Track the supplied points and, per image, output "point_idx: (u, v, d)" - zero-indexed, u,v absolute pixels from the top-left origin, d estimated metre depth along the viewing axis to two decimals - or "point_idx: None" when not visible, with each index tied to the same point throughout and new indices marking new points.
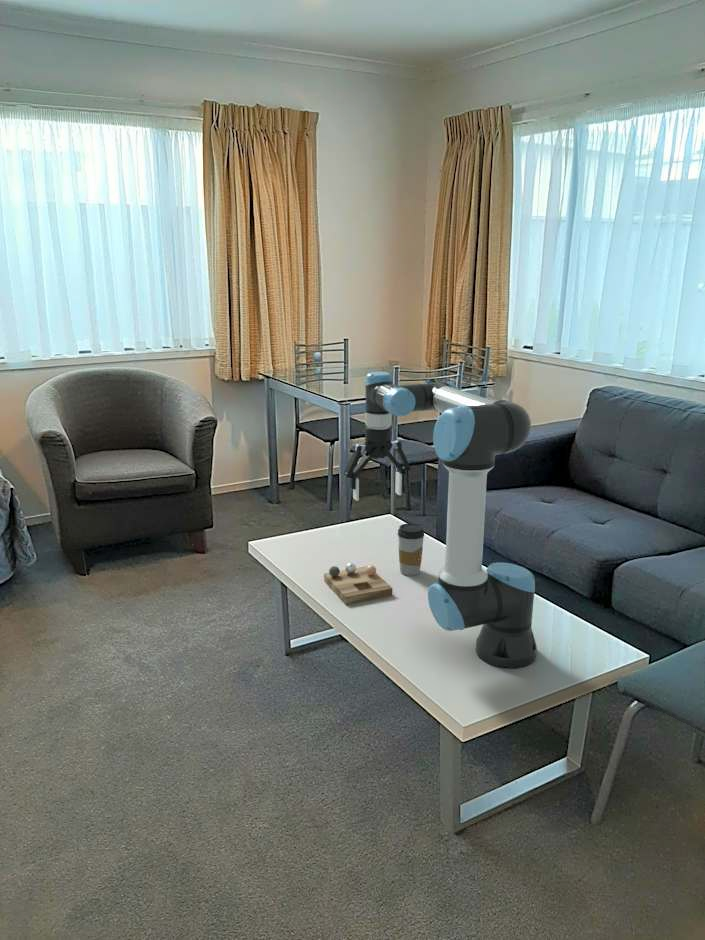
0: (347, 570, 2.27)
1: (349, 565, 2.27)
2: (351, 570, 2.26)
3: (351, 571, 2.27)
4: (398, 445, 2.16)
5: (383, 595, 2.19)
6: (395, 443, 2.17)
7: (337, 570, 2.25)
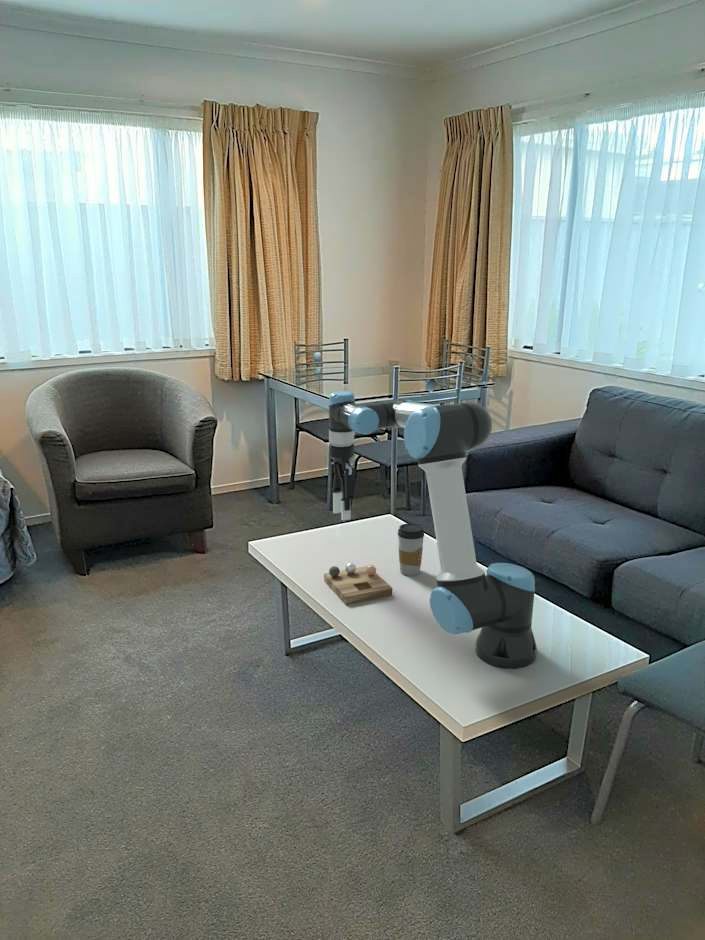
0: (347, 570, 2.27)
1: (349, 565, 2.27)
2: (351, 570, 2.26)
3: (351, 571, 2.27)
4: (345, 471, 2.20)
5: (383, 595, 2.19)
6: (347, 468, 2.20)
7: (337, 570, 2.25)
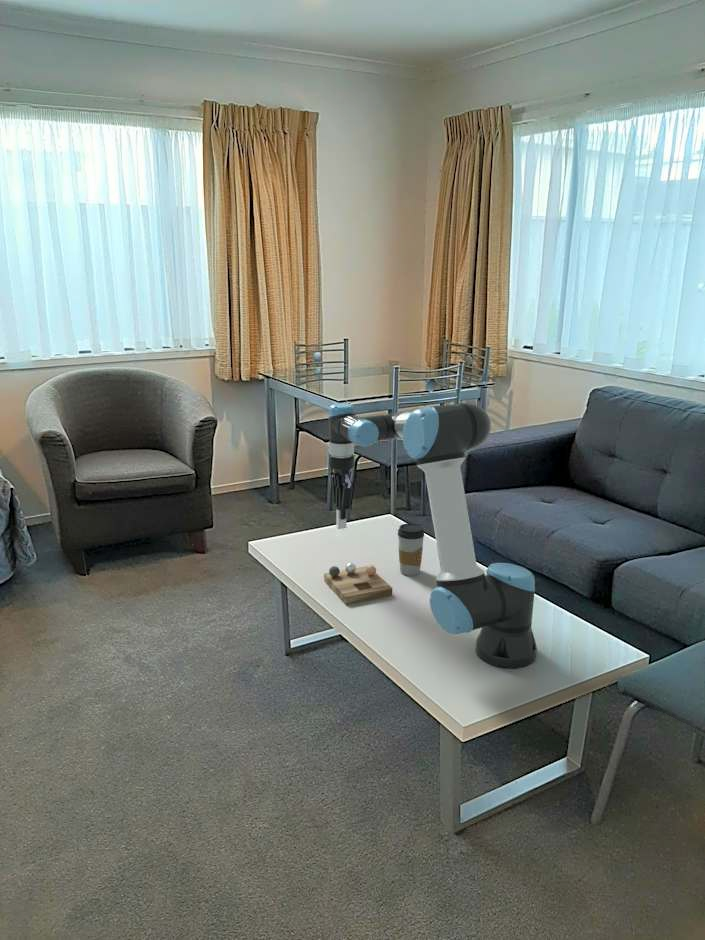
0: (347, 570, 2.27)
1: (349, 565, 2.27)
2: (351, 570, 2.26)
3: (351, 571, 2.27)
4: (344, 484, 2.22)
5: (383, 595, 2.19)
6: (346, 481, 2.22)
7: (337, 570, 2.25)
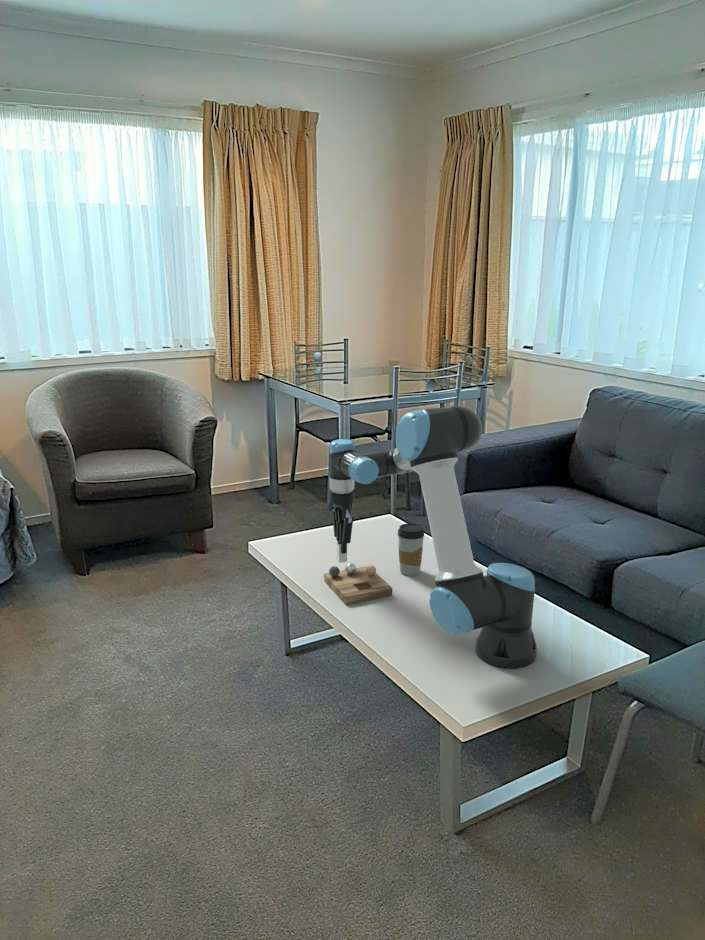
0: (347, 570, 2.27)
1: (349, 565, 2.27)
2: (351, 570, 2.26)
3: (351, 571, 2.27)
4: (345, 519, 2.25)
5: (383, 595, 2.19)
6: (347, 516, 2.25)
7: (337, 570, 2.25)
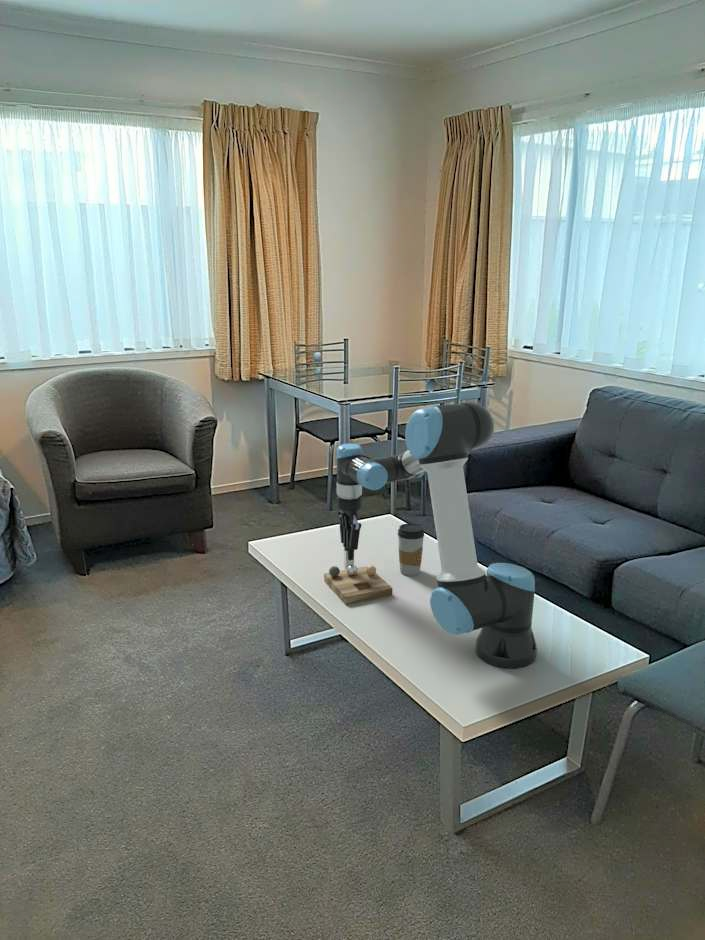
0: (348, 573, 2.26)
1: (351, 569, 2.25)
2: (352, 574, 2.26)
3: (352, 575, 2.26)
4: (352, 526, 2.20)
5: (383, 595, 2.19)
6: (354, 523, 2.20)
7: (337, 570, 2.25)
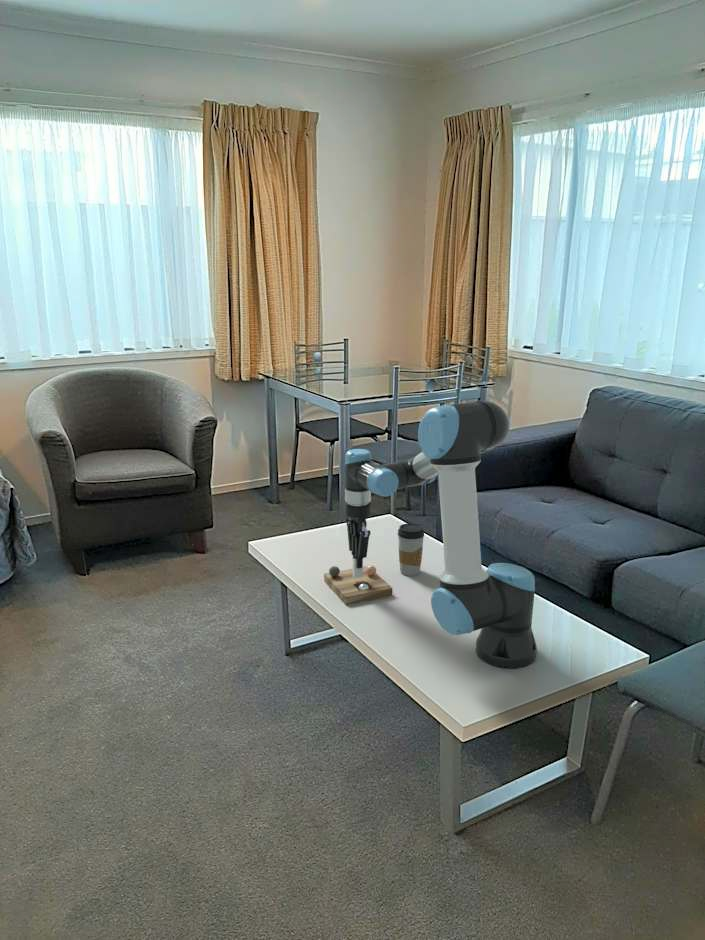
0: None
1: (361, 585, 2.19)
2: (364, 589, 2.18)
3: None
4: (361, 533, 2.14)
5: (383, 595, 2.19)
6: (363, 530, 2.14)
7: (337, 570, 2.25)
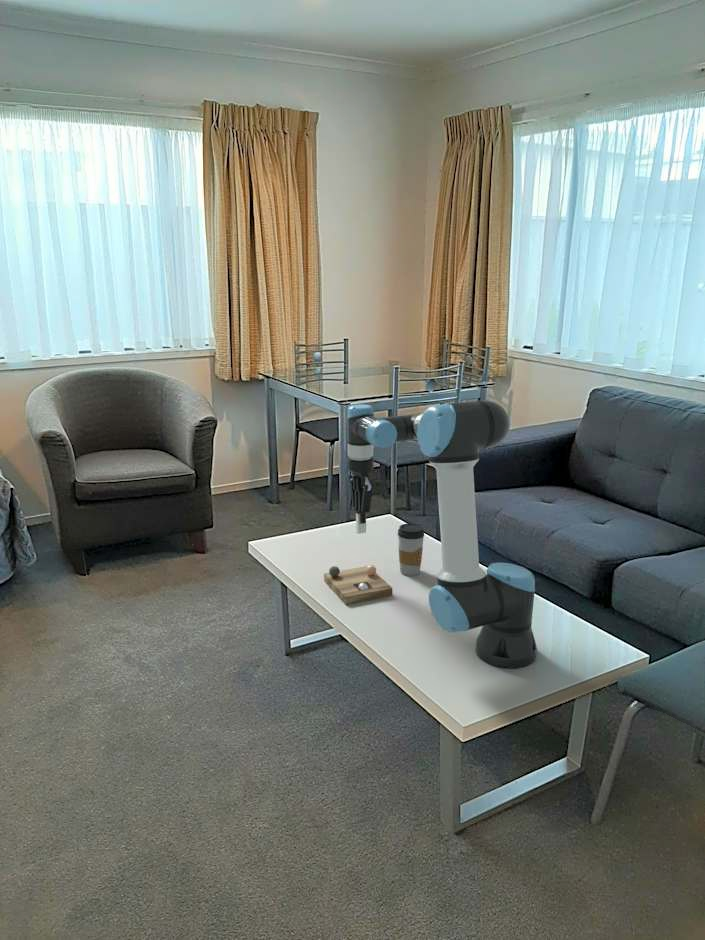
0: (359, 589, 2.19)
1: (360, 584, 2.20)
2: (363, 587, 2.19)
3: (364, 588, 2.19)
4: (364, 487, 2.17)
5: (383, 595, 2.19)
6: (366, 484, 2.18)
7: (337, 570, 2.25)
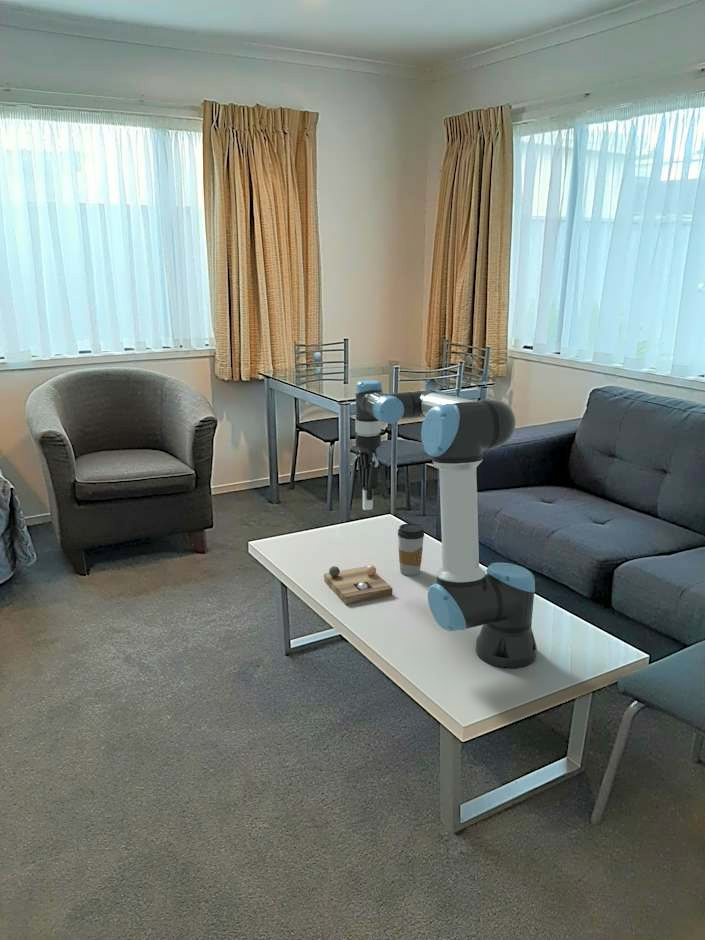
0: (359, 587, 2.19)
1: (359, 583, 2.21)
2: (362, 585, 2.19)
3: (363, 586, 2.19)
4: (371, 463, 2.16)
5: (383, 595, 2.19)
6: (373, 460, 2.17)
7: (337, 570, 2.25)
